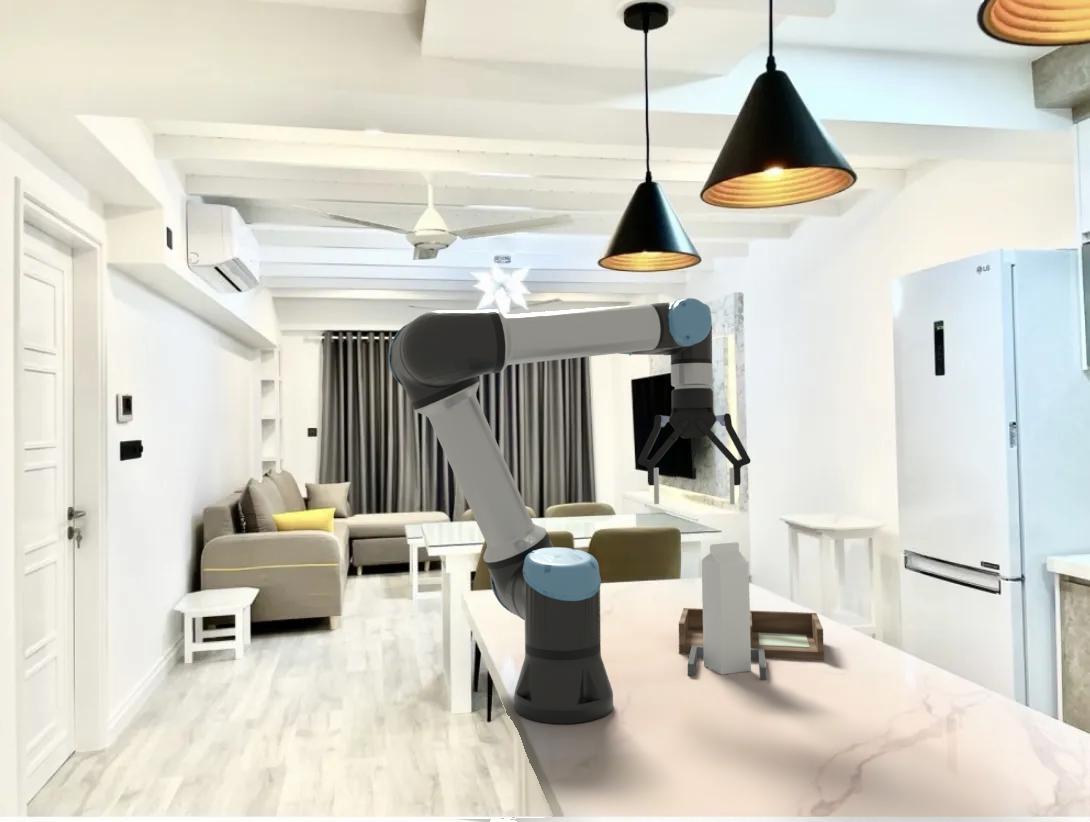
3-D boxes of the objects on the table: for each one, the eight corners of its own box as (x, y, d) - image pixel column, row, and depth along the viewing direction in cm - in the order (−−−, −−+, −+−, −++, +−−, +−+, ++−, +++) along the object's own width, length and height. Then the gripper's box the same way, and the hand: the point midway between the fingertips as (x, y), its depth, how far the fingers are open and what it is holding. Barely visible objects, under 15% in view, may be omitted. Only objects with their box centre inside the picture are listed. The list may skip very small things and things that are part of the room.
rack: (824, 660, 145) (823, 630, 145) (679, 653, 151) (678, 624, 151) (817, 640, 159) (816, 612, 159) (684, 634, 165) (683, 608, 165)
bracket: (766, 679, 134) (765, 667, 134) (687, 675, 137) (687, 663, 137) (764, 659, 146) (764, 648, 146) (691, 656, 149) (691, 645, 149)
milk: (703, 666, 143) (699, 542, 144) (732, 662, 145) (728, 540, 146) (722, 675, 137) (718, 546, 138) (752, 671, 139) (748, 543, 140)
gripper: (760, 387, 149) (762, 502, 148) (626, 390, 153) (627, 501, 153) (763, 385, 141) (766, 505, 141) (622, 388, 146) (624, 505, 145)
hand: (694, 503), depth 147 cm, fingers open, 13 cm apart
